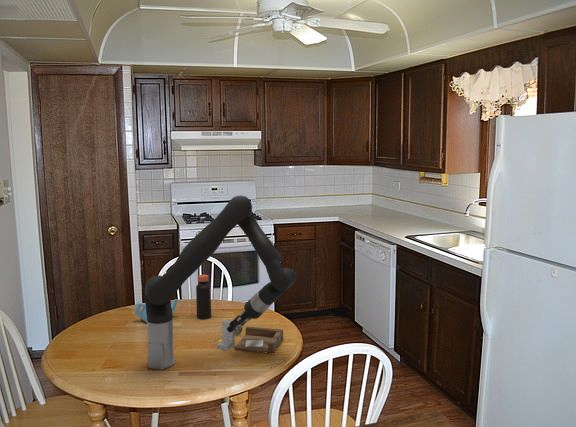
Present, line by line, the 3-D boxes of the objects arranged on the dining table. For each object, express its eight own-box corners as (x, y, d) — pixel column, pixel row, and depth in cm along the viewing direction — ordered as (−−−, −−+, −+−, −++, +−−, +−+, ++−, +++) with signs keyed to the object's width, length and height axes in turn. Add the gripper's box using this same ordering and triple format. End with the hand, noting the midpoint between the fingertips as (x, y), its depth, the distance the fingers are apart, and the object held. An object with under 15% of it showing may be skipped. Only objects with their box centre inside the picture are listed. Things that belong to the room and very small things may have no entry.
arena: (273, 353, 203) (273, 344, 203) (234, 349, 207) (234, 340, 207) (283, 338, 219) (283, 329, 218) (247, 335, 223) (246, 326, 222)
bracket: (226, 350, 207) (226, 326, 205) (216, 348, 209) (216, 324, 208) (234, 345, 211) (234, 322, 210) (224, 343, 214) (224, 320, 212)
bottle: (210, 314, 250) (209, 273, 247) (212, 318, 243) (211, 277, 240) (195, 315, 248) (194, 274, 245) (197, 320, 241) (196, 278, 238)
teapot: (152, 312, 252) (151, 291, 251) (179, 315, 247) (178, 294, 246) (133, 322, 238) (132, 300, 236) (161, 326, 233) (160, 303, 231)
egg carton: (238, 336, 222) (238, 327, 221) (221, 336, 223) (221, 326, 222) (243, 327, 232) (243, 319, 232) (227, 327, 233) (227, 318, 233)
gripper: (262, 292, 209) (239, 314, 216) (242, 301, 197) (218, 325, 204) (273, 306, 207) (249, 329, 215) (254, 317, 195) (229, 340, 202)
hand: (234, 327), depth 209 cm, fingers open, 8 cm apart
